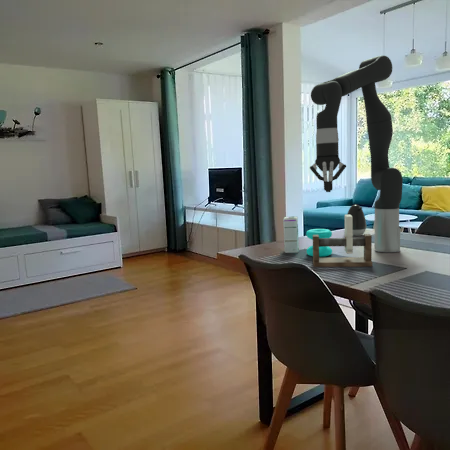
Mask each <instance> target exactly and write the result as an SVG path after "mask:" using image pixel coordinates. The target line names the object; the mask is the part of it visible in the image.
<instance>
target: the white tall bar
mask: <svg viewBox="0 0 450 450" xmlns="http://www.w3.org/2000/svg"><path fill="white" fill-rule="evenodd" d="M344 238H346V246H344V251H345V253H346V254H351V255H353V254H354V251H353V250H354V248H353V247H354V246H353V238H354V236H353V223H352V216H351V215H347V214H344Z"/></svg>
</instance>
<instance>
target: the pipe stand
mask: <svg viewBox="0 0 450 450" xmlns="http://www.w3.org/2000/svg"><path fill="white" fill-rule="evenodd" d="M372 239H373V237H372V234H370V233H364V234H363V237H353V247H363V256H362V257H359V256H358V257H356V256H355V257H354V256H353V257H349V256H347V257H345V256H344V257H319V247H325V246H328V247H345V246H346V238H345V237H330V238H319V235H313V240H312V246H313V256H312V265H313V267H314V268H317V267H318V268H319V267H321V268H322V267H323V268H324V267H325V268H326V267H327V268H328V267H331V268H333V267H335V268H337V267H338V268H339V267H340V268H341V267H345V268H346V267H351V268H352V267H356V268H357V267H360V268H361V267H363V268H364V267H373V263H374V262H373V261H372V259H373V258H372V255H373V254H372V246H373V245H372V243H373V242H372Z"/></svg>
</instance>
